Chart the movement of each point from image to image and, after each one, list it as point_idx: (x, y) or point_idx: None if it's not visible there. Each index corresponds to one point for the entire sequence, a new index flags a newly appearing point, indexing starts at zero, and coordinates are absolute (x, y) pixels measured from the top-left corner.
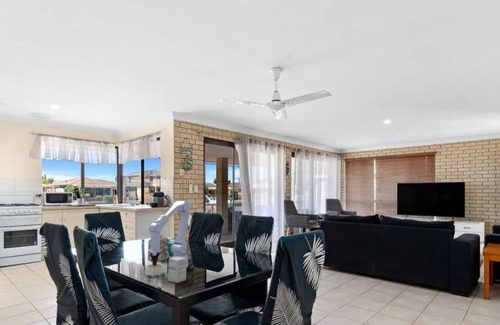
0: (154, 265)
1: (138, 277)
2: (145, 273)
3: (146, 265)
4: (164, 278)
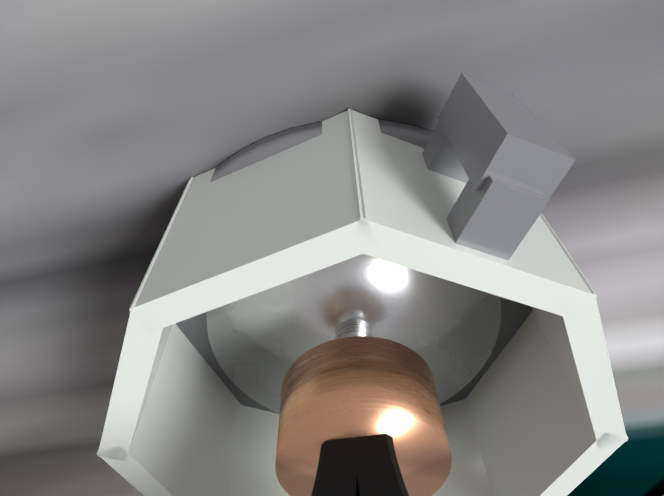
0: (302, 473)
1: (47, 5)
2: (291, 148)
3: (511, 220)
4: (84, 465)
